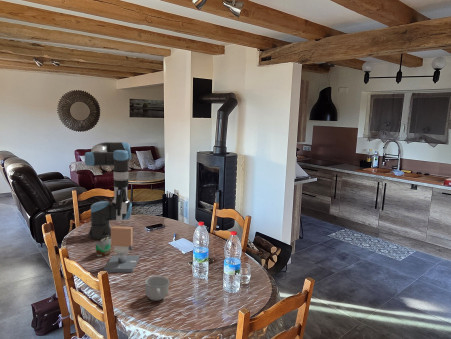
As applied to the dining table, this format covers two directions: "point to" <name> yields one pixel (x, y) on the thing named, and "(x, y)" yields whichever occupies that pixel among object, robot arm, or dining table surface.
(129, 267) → the post base
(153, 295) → the teacup
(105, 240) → the food container
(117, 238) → the brown box
